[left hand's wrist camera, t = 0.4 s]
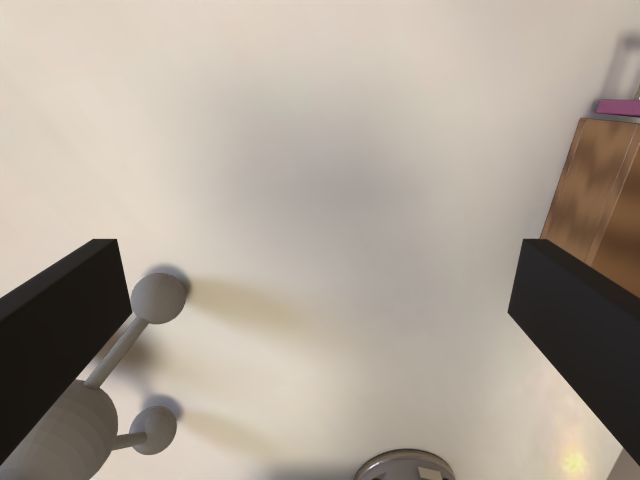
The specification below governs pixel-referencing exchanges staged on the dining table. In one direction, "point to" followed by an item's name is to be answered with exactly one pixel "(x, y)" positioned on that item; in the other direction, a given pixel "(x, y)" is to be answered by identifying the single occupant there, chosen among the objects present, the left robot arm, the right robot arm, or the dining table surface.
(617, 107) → the purple elongated piece
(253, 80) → the dining table surface
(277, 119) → the dining table surface
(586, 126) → the brown wooden brick
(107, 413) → the molecular model
